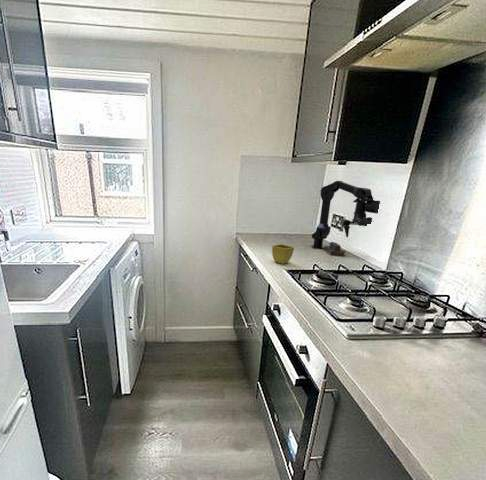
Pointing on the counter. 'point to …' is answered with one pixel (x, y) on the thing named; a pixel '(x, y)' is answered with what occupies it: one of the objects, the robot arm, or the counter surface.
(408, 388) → the counter surface
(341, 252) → the stand
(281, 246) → the flower pot
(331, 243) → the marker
